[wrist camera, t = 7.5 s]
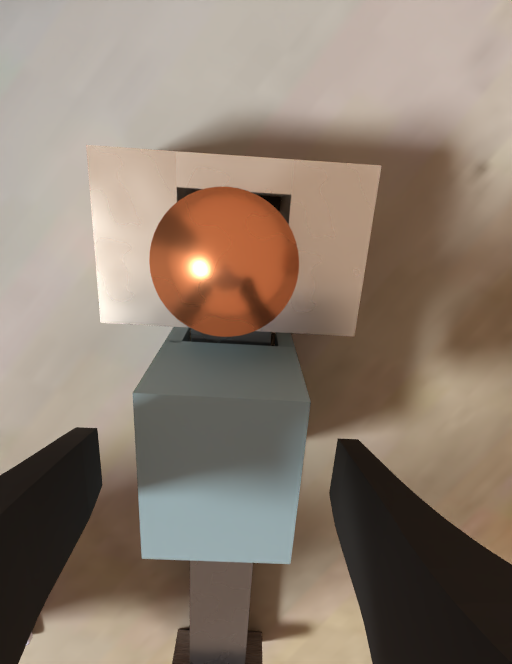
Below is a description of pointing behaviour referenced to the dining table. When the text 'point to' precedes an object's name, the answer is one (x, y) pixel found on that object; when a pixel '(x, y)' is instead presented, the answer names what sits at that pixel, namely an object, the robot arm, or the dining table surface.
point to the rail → (220, 588)
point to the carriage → (220, 450)
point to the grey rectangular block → (251, 175)
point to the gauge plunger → (224, 261)
